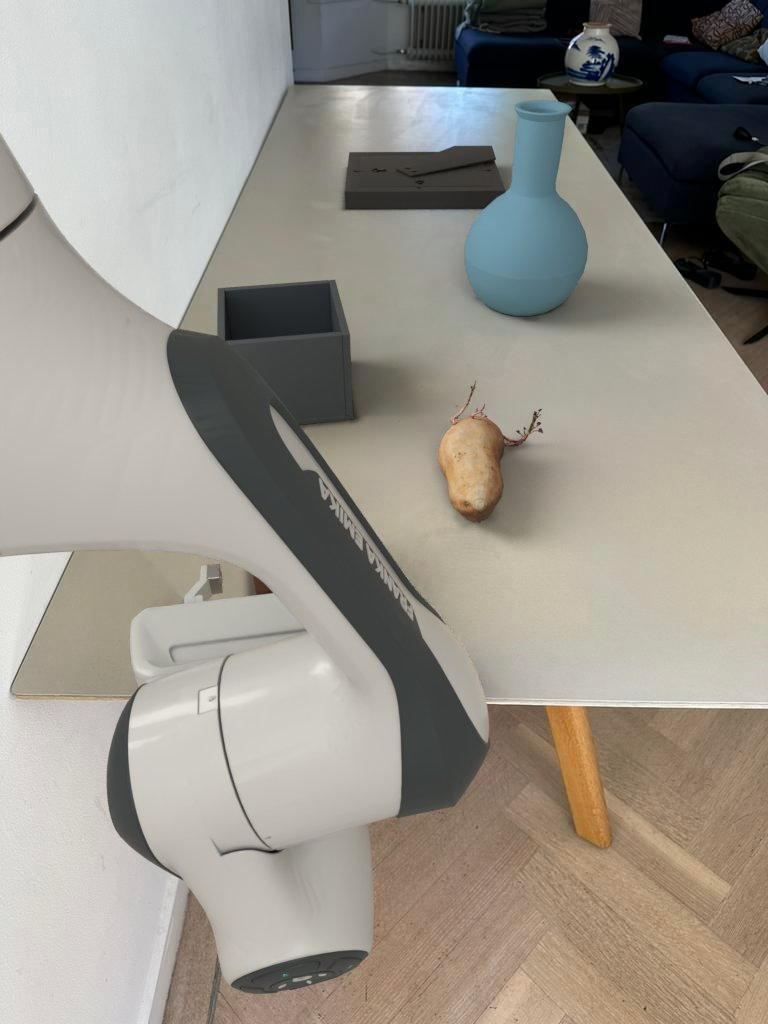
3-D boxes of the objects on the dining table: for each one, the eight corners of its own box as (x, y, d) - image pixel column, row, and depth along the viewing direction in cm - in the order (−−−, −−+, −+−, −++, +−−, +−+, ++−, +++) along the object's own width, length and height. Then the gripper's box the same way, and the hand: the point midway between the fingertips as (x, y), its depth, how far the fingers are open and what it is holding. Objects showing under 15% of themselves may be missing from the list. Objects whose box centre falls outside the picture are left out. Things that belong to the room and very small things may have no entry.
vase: (476, 332, 101) (493, 128, 84) (449, 280, 113) (460, 92, 97) (595, 323, 103) (635, 121, 86) (556, 272, 115) (584, 87, 99)
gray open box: (231, 431, 84) (216, 345, 77) (230, 369, 94) (217, 287, 87) (353, 419, 85) (350, 334, 79) (339, 359, 96) (335, 279, 89)
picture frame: (490, 167, 153) (349, 168, 154) (491, 145, 151) (348, 146, 151) (504, 208, 136) (345, 209, 136) (506, 184, 133) (344, 184, 133)
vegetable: (575, 517, 68) (533, 432, 63) (463, 558, 72) (415, 480, 67) (554, 426, 81) (518, 348, 75) (460, 464, 84) (419, 392, 79)
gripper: (441, 660, 49) (402, 519, 59) (112, 703, 46) (132, 548, 57) (436, 716, 53) (401, 575, 63) (135, 759, 50) (150, 605, 61)
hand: (272, 563), depth 60 cm, fingers open, 8 cm apart
